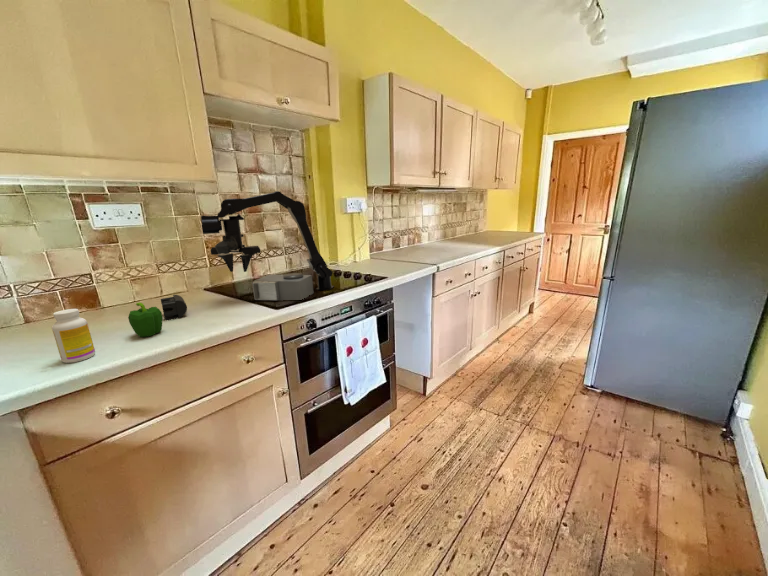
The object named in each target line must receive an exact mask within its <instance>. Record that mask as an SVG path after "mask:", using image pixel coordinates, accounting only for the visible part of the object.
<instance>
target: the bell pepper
mask: <svg viewBox="0 0 768 576" xmlns="http://www.w3.org/2000/svg"><path fill="white" fill-rule="evenodd" d="M135 305H136V306H137V307H139V309H137V310H135V309H134V310H130V311H129V314H128V317H127V318H128V323H129V325H130V327H131V329H132V330H133V331H134V333H135V334H136V335H137V336H138V337H140V338H148V337H152V336H154V335H155V334H158V333H160V332H162V328H163V317H164V316H163V313H162V312H163V311H161V310H160V308H158V307H157V306H151V307H149V308H146V306H145V304H144V303H142V302H136V303H135Z"/></svg>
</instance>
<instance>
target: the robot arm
mask: <svg viewBox="0 0 768 576" xmlns="http://www.w3.org/2000/svg"><path fill="white" fill-rule="evenodd" d="M275 202H276V203H277V204H279V205H280V206H282V207H283V208H285V209H287V211H288V213H289V215H290V216H291V218H292V219H293V221H294V222H295V224H296V225H297V228H298V230H299V233H300V235H301V237H302V240H303V243H304V245H305V248H306V250H307V253H308V258H307V259H306V261H307V263H308V266H309V269H311V270H312V271H314V273H315V274H316V275H317V283H318V285H317V286H318V287H316V288H315V290H316V291H330V290H332V289H333V288H335V285H332V281H331V279H332V278H331V277H332V276H333V271H332V269H331V268H329V267H328V264H327V262H326V261H325V259H324V257H322V255H321V254H320V252H319V249H318V248H317V245H316V242H315V239H314V237H313V235H312V232H311V230H310V227H309V224H308V221H307V214H306V208H305V204H304V203H303V202H301V201H299V200H294V199H292V198H290V197H289V196H287V195H285V194H284V193H282V192H281V191H278V190H277V191H274V192H270V193H265V194H260V195H256V196H251V197H246V198H226V199H224V200H222V202H221V203H220V210H219V212H217V215H200V218H201V229H202V234H203V235H209V234H210V235H211V234H220V232H221V231H224V235H222V240H221V241H219V242H218V243H216V244H215V245H214V246H212V247H211V249H210V254H211V255H212V256H213V255H214V256H215V255H216V256H217V257H219V258H221V259H222V260H223V261H224V263H225V264H226V266H227V268H228V270H229V272H230V273H231V272H234V253H235V254H236V253H238V254H239V253H240V255H239V258H240V259H241V263H242V269H243V272H244V273H246V272H247V271H248V268H249V264H250V262H251V259H252V257H253V256H254V255H256V254H259V253H261V248H260V246H259V245H247V246H246V245H245V244H243V240H242V239H243V237H244V234H243V233H242V231H241V224H240V221H243V220H245V218H244V217H242V215H241V214H240V213H239V212H241V211H243V210H246V209H249V208H253V207H257V206H263V205H267V204H271V203H275ZM237 213H238V214H237ZM234 214H237V215H234ZM227 215H229V216H228V218H227V219H225V217H226V216H227ZM220 218H221V219H220ZM222 218H224V219H222ZM222 222H223V226H222ZM241 253H242V254H241Z"/></svg>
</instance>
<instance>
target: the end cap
mask: <svg viewBox="0 0 768 576" xmlns="http://www.w3.org/2000/svg"><path fill="white" fill-rule="evenodd" d="M160 304H161V307H162V312H163V313H162V314H163V317H164V321H165V320H168V321H171V319H173V320H176V318H178V319H181V318H183V316H184V315H185V314H186V313H187V310H188V305H187V303H186V302H185V299H184V298H183V296H181V295H179V294H173V295H172V296H170V297H163V298H160Z"/></svg>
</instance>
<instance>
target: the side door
mask: <svg viewBox="0 0 768 576" xmlns="http://www.w3.org/2000/svg"><path fill="white" fill-rule="evenodd" d="M251 283H252V284H251V285H252V290H253V296H254V297H253V298H254V300H255V301H280V300H279V299H280V298H279V290H278V282H271V281H255V282H254V281H252V282H251Z"/></svg>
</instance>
